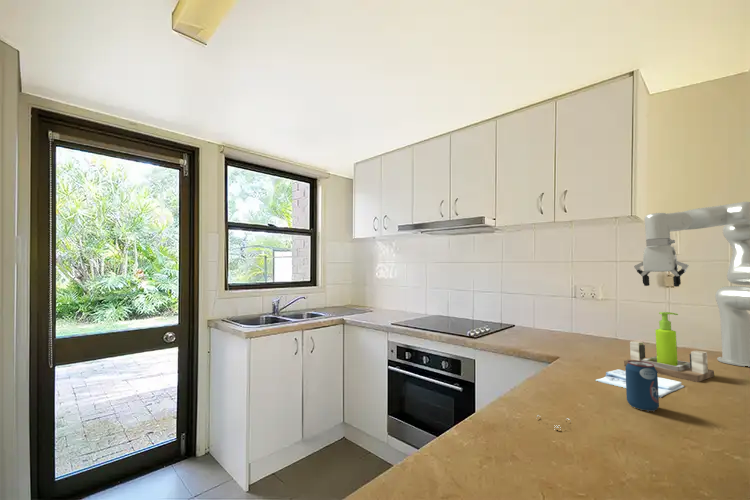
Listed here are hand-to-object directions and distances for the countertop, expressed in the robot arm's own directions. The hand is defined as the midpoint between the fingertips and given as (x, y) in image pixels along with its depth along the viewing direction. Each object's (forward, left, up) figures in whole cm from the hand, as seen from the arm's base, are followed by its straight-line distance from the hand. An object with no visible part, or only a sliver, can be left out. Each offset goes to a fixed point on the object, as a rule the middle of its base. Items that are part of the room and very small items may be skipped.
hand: (661, 286), depth 133 cm
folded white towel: (+33, +5, -33) cm, 47 cm away
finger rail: (+6, +3, -32) cm, 33 cm away
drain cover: (+86, +11, -32) cm, 93 cm away
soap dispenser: (+6, +3, -30) cm, 31 cm away
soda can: (+55, +16, -32) cm, 66 cm away
